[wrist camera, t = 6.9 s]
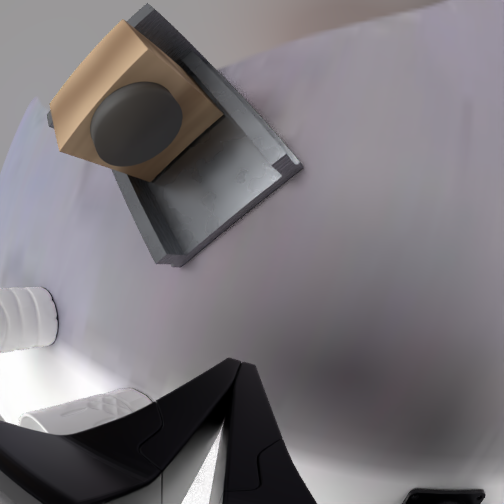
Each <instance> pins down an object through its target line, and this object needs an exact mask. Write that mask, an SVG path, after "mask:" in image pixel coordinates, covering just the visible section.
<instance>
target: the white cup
mask: <svg viewBox="0 0 504 504" xmlns="http://www.w3.org/2000/svg"><path fill="white" fill-rule="evenodd" d="M150 403H152V401H151V400H150V399H149V398H148V397H147V396H146V395H144V394H142V393H140V392H138V391H136V390H134V389H132V388H127V389H117V390H114V391H111V392H108V393H105V394H99V395H94V396H90V397H88V398H83V399H78V400H74V401H71V402H67V403H63V404H60V405H56V406H52V407H48V408H44V409H40V410H36V411H31V412H27V413H23V414H21V416H20V418H19V426H21V427H25V428H29V429H32V430H37V431H41V432H45V433H50V434H55V435H68V434H74V433H77V432H81V431H84V430H87V429H90V428H93V427H96V426H99V425H102V424H105V423H107V422H110V421H113V420H116V419H118V418H121V417H123V416H126V415H128V414H131V413H133V412H135V411H137V410H139V409H141V408H143V407H145V406H147V405H149V404H150Z"/></svg>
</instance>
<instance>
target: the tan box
mask: <svg viewBox="0 0 504 504" xmlns="http://www.w3.org/2000/svg"><path fill="white" fill-rule="evenodd" d="M50 109H51V115H52V120H53V125H54V129H55V134H56V138H57V143H58V147H59V151H60V152H63V153H66V154H69V155H72V156H75V157H78V158H81V159H84V160H87V161H90V162H93V163H96V164H99V165H102V166H105V167H108V168H110V169H113V170H116V171H119V172H122V173H125V174H128V175H131V176H134V177H136V178H139V179H142V180H145V181H148V182H151V181H152V180H153V179H154V178H155V177H156V176H157V175H158V174H159V173H160V172H161V171H162V170H163V169H164V168H165V167H166V166H167V165H168V164H169V163H170V162H171V161H172V160H174V159H175V158H176V157H177V156H178V155H179V154H180V153H181V152H182V151H183V150H184V149H185V148H186V147H187V146H188V145H189V144H191V143H192V142H193V141H194V140H195V139H196V138H197V137H198V136H199V135H201V134H202V133H203V132H204V131H205V130H206V129H207V128H208V127H210V126H211V125H212V124H213V123H214V122H215V121H216V120H218V119H219V118H220V117H221V116H222V115H224V114H223V113H222V111H221V110H220V109H219V108H218V107H217V106H216V104H215V103H214V102H213V101H212V100H211V98H210V97H209V96H208V95H207V94H206V93H205V91H204V90H203V89H202V88H201V87H200V86H199V84H198V83H197V82H196V81H195V80H194V79H193V78H192V77H191V76H190V75H189V74H188V73H187V72H186V71H185V70H184V69H182V68H181V67H180V66H179V65H178V64H177V63H176V62H174V61H173V60H172V59H171V58H170V57H169V56H168V55H166V54H165V53H164V52H163V51H162V50H160V49H159V48H158V47H157V46H156V45H155V44H153V43H152V42H151V41H150V40H148V39H147V38H146V37H145V36H144V35H142V34H141V33H140V32H139V31H137V30H136V29H135V28H134V27H132V26H131V25H130V24H129V23H127V22H126V21H125V20H121V21H120V22H119V23H118V24H117V25H116V26H115V27H114V28H113V29H112V30H111V31H110V32H109V33H108V34H107V35H106V36H105V37H104V38H103V40H102V41H101V42H100V43H99V44H98V45H97V46H96V47H95V48H94V49H93V50H92V51H91V52H90V54H89V55H88V56H87V57H86V58H85V59H84V61H83V62H82V63H81V64H80V65H79V66H78V68H77V69H76V70H75V71H74V72H73V74H72V75H71V76H70V77H69V79H68V80H67V81H66V82H65V84H64V85H63V86H62V88H61V89H60V90H59V92H58V93H57V94H56V96H55V97H54V98H53V100H52V101H51V103H50Z"/></svg>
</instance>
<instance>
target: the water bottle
mask: <svg viewBox="0 0 504 504" xmlns="http://www.w3.org/2000/svg"><path fill="white" fill-rule="evenodd" d="M56 317H57V312H56V308H55V304H54V302H53V301H52V297H51V295H50V294H49V292H48V291H47V290H46V289H44V288H42V287H25V288H8V289H7V288H0V352H1V353H5V352H11V351H15V350H25V349H29V348H38V347H44V346H49V345H51V344H52V343H53V342H54V341H55V338H56V334H57V329H58V321H57V319H56Z"/></svg>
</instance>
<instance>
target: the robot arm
mask: <svg viewBox="0 0 504 504" xmlns="http://www.w3.org/2000/svg"><path fill="white" fill-rule="evenodd" d="M223 422H224V423H223ZM222 425H223V427H222ZM221 427H222V432H221V437H220V443H219V449H218V454H217V460H216V466H215V472H214V478H213V483H212V489H211V495H210V501H209V504H317V503H316V501H315V499H314V498H313V496H312V495H311V493H310V491H309V490H308V488H307V486H306V485H305V483H304V481H303V480H302V478H301V476H300V475H299V473H298V471H297V469H296V467H295V466H294V464H293V462H292V460H291V457H290V455H289V453H288V451H287V448H286V446H285V443H284V440H283V439H282V436H281V433H280V430H279V428H278V425H277V422H276V420H275V417H274V414H273V412H272V409H271V406H270V404H269V401H268V398H267V396H266V393H265V390H264V388H263V385H262V382H261V379H260V377H259V374H258V371H257V368H256V366H255V365H254V364H250V363H246V362H242V363H241V361H239V360H235V359H232V358H227V359H225V360H224V361H222V362H221V363H219V364H217V365H216V366H214V367H212V368H211V369H209V370H207V371H206V372H204V373H203V374H201V375H199V376H198V377H196V378H194V379H193V380H191V381H189V382H187V383H186V384H184V385H182V386H181V387H179V388H177V389H175V390H174V391H172V392H170V393H169V394H167V395H165V396H163V397H161V398H160V399H158V400H156V402H152V403H150V404H149V405H147V406H145V407H143V408H141V409H139V410H137V411H135V412H133V413H131V414H128V415H126V416H123V417H121V418H118V419H116V420H113V421H110V422H107V423H105V424H102V425H99V426H96V427H93V428H90V429H87V430H84V431H81V432H77V433H74V434H68V435H55V434H50V433H45V432H41V431H37V430H32V429H29V428H25V427H21V426H17V425H14V424H10V423H7V422H3V421H0V504H181V503H182V501H183V499H184V498H185V496H186V494H187V492H188V490H189V488H190V487H191V485H192V483H193V481H194V479H195V477H196V476H197V474H198V472H199V470H200V468H201V466H202V464H203V462H204V461H205V459H206V457H207V455H208V453H209V451H210V449H211V447H212V445H213V443H214V441H215V439H216V438H217V436H218V434H219V432H220V429H221ZM414 495H417V496H414ZM484 498H485V492H484V491H483V490H471V491H444V490H422V489H415V490H412V491H411V492H410V493H409V494H408V496H407V497H406V499H405V500H404V502H403V504H480V503H481V502H482V501H483V499H484Z"/></svg>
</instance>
